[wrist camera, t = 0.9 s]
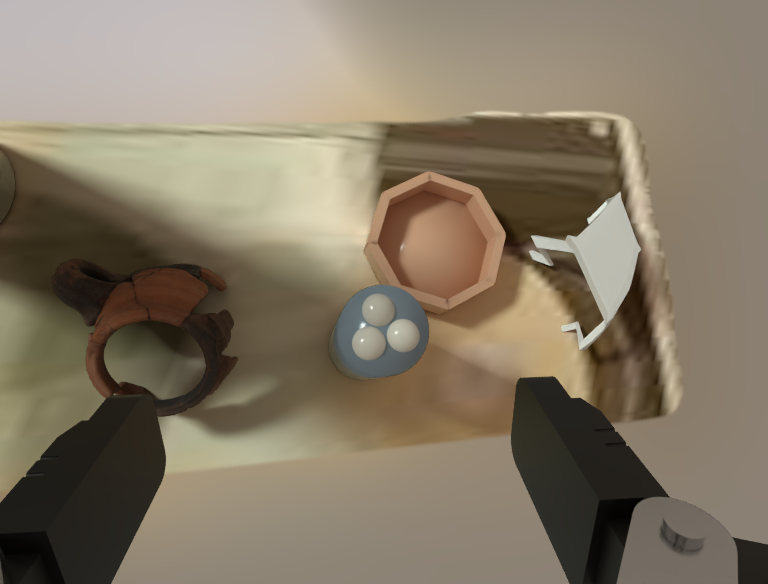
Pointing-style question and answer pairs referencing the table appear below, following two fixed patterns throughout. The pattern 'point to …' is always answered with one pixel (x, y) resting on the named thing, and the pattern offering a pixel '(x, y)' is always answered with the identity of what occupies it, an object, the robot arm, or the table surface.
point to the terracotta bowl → (435, 241)
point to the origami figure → (599, 260)
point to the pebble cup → (379, 333)
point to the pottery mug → (147, 319)
